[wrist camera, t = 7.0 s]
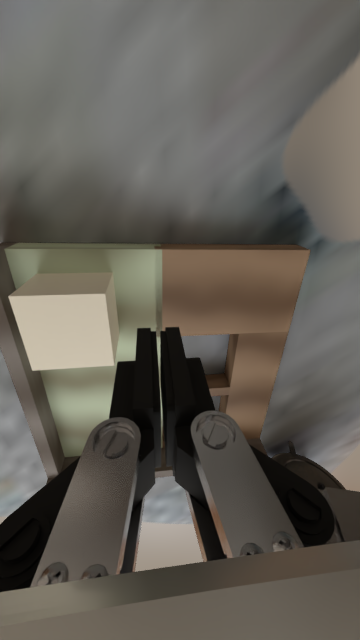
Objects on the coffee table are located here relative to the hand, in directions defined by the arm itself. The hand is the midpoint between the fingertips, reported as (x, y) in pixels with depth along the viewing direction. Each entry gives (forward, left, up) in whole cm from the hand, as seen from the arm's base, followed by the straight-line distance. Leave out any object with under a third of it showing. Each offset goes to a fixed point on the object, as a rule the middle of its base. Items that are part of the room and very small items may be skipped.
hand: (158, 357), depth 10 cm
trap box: (+9, +1, -11) cm, 14 cm away
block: (+2, -5, -9) cm, 10 cm away
